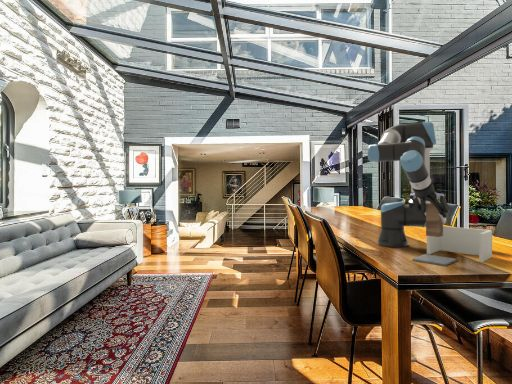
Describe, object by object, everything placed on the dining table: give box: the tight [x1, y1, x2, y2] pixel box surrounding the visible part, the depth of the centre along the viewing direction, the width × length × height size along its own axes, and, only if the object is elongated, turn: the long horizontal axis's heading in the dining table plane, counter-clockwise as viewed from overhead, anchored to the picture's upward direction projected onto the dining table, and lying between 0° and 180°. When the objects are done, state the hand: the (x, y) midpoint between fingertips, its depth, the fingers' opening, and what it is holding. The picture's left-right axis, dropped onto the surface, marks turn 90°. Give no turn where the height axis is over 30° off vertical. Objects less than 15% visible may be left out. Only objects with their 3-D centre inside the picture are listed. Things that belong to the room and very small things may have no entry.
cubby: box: [426, 225, 493, 263], centre depth 148 cm, size 14×22×12 cm, turn 40°
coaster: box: [411, 253, 457, 267], centre depth 140 cm, size 13×13×1 cm
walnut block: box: [425, 203, 444, 237], centre depth 139 cm, size 5×5×14 cm
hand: (437, 220), depth 141 cm, fingers closed on walnut block, 5 cm apart
